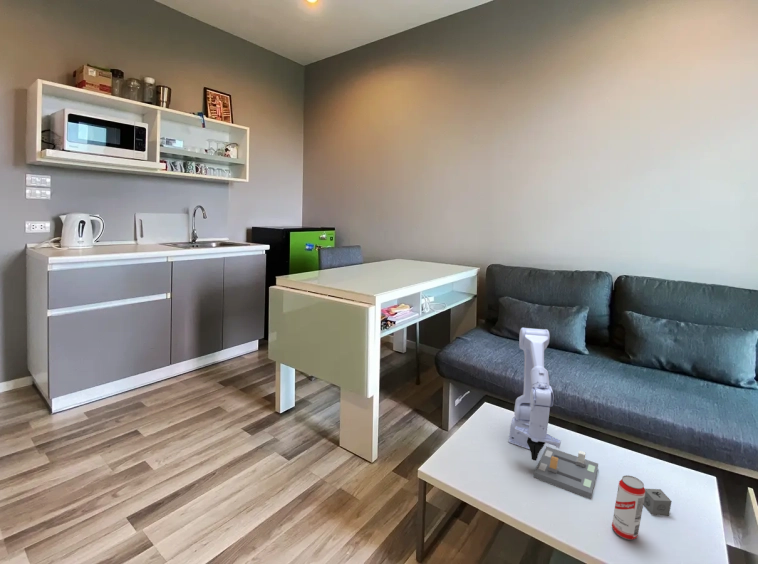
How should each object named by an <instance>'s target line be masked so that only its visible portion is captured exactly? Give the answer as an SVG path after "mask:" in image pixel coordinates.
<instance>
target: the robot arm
mask: <svg viewBox="0 0 758 564" xmlns="http://www.w3.org/2000/svg"><path fill="white" fill-rule="evenodd" d="M518 336H519V337H518V339H519V341H518V342H519V343H518V346H519V349H520V350H522V351H523V353H524V354H523V355H524V367H523V368H524V369H523V393H522V395H520V396H518V397H517V398H516V399H515V404H514V410H513V411H514V412H513V413H514V414H513V415H514V416H513V417H512V419H511V422H510V427H509V436H508V437H509V438H508V443H509V444H513V445H515V446H518V447H522V448H523V449H527V450H530V451H529V452H530V455H531V460H533V461H537V460H538V457H539V454H540V452H541V451H542V449H543V448H544V446H545V445H546V444H548V445H552V446H554V447H555V448H558V449H560V448H561V443H562V440H561V439H559V438H556V437H554V436H551V435H550V434H548V428H549V427H548V425H549V419H550V418H549V417H550V409H551V407H553V406H554V392H553V391H554V390H553V389H552V386H551V385H550V378H549V371H548V370H547V369H546V368H545V350H546V349H548V348H547V347H548V346H549V344H550V337H551V335H550V331H549V330H548V329H546V328H545V329H544V328H543V329H542V328H530V327H521V328H520V330H519V335H518Z"/></svg>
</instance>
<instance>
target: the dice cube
mask: <svg viewBox="0 0 758 564" xmlns="http://www.w3.org/2000/svg"><path fill="white" fill-rule="evenodd" d="M644 489H645V498H644V503H643V507H644V508H645V509H646V510H647V511H648V513H649V514H650V515H651V516H662V517H663V516H665V517H666V516H667V517H669V516H670V511H671V507H672V500H671V498H669V496H668V495H666V494H665V492H664V491H663V490H662V489H660V488H645V487H644Z"/></svg>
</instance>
